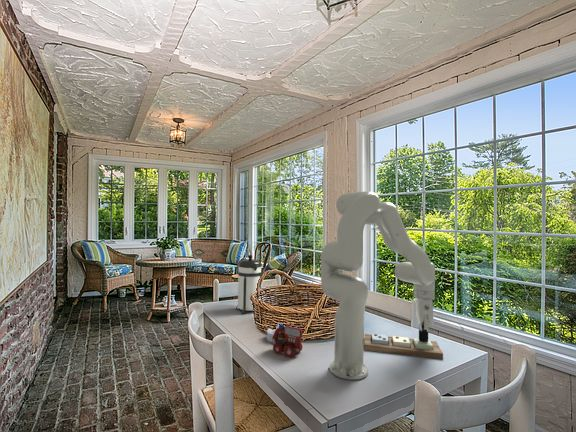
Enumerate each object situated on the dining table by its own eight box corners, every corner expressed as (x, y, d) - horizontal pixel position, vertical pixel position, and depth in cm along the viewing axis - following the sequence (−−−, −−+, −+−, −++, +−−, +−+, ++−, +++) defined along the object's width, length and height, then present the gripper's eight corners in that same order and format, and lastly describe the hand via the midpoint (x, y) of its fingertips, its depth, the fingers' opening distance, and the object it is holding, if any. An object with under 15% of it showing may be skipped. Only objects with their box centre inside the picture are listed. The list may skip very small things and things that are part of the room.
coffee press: (268, 308, 177) (269, 254, 177) (255, 316, 162) (256, 257, 162) (240, 304, 183) (241, 252, 183) (225, 312, 168) (226, 255, 168)
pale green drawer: (432, 353, 120) (432, 344, 120) (415, 351, 122) (415, 343, 122) (429, 347, 126) (429, 339, 126) (413, 345, 128) (413, 337, 128)
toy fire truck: (278, 346, 126) (279, 319, 126) (306, 353, 119) (306, 325, 119) (268, 352, 120) (268, 324, 120) (296, 360, 113) (297, 331, 113)
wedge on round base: (300, 338, 134) (271, 333, 139) (300, 322, 134) (272, 318, 139) (293, 346, 126) (263, 341, 130) (294, 328, 126) (263, 324, 130)
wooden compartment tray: (443, 359, 117) (443, 353, 117) (364, 349, 123) (364, 344, 123) (436, 346, 128) (436, 341, 128) (364, 338, 135) (364, 333, 135)
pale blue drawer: (388, 348, 124) (388, 340, 124) (372, 346, 126) (372, 338, 126) (387, 342, 130) (387, 334, 130) (371, 341, 131) (372, 333, 131)
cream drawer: (410, 351, 122) (410, 342, 122) (393, 349, 124) (393, 340, 124) (408, 345, 128) (408, 336, 128) (392, 343, 130) (392, 335, 130)
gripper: (438, 299, 116) (438, 349, 116) (430, 290, 131) (430, 335, 131) (416, 297, 118) (416, 347, 118) (411, 288, 132) (410, 333, 132)
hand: (423, 340), depth 124 cm, fingers closed
